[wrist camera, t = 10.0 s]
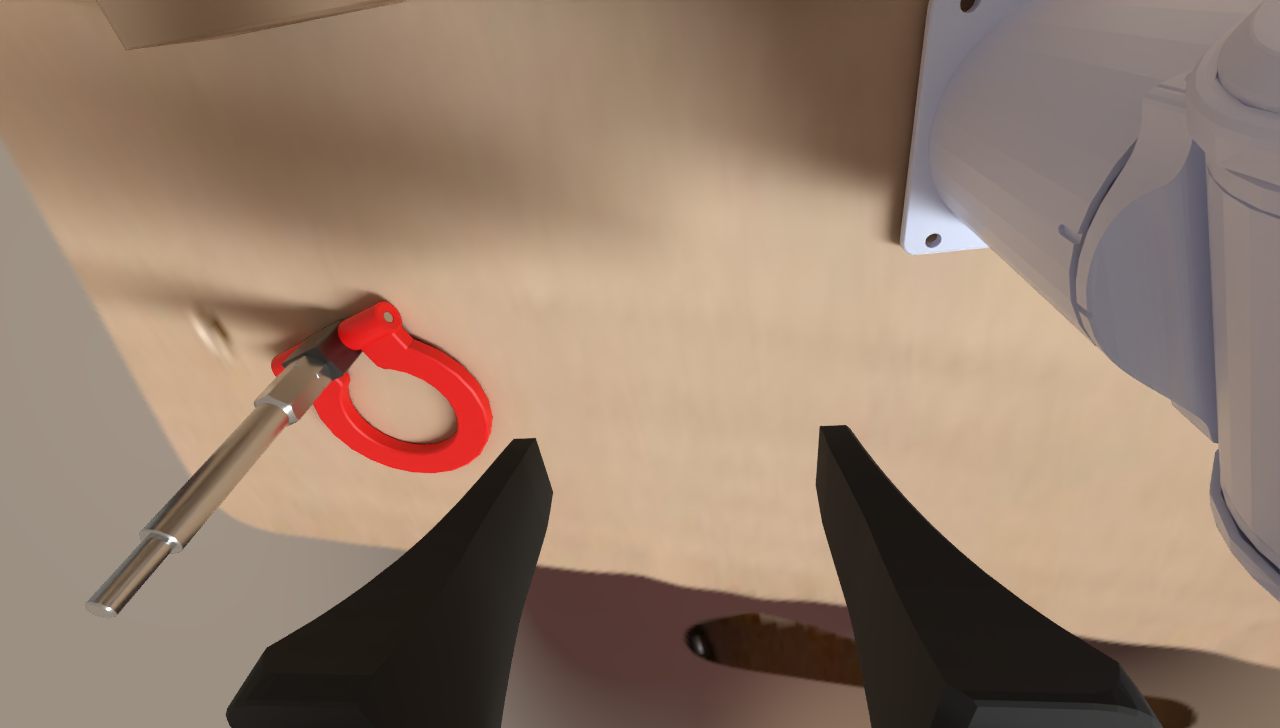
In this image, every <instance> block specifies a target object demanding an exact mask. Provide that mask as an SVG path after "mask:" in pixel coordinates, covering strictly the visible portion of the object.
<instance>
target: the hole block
mask: <svg viewBox="0 0 1280 728" xmlns="http://www.w3.org/2000/svg"><path fill="white" fill-rule="evenodd" d="M96 1H97V3H98V4H99V6H100V8H101V9H102V11H103V13H104V14H105V16H106V18H107V19H108V21H109V23H110V24H111V26H112V28H113V29H114V31H115V33H116V34H117V36H118V38H119V39H120V41H121V43H122V44H123V46H124V48H125V49H126V50H130V49H138V48H146V47H154V46H162V45H171V44H179V43H187V42H195V41H203V40H211V39H219V38H224V37H229V36H234V35H239V34H244V33H249V32H254V31H259V30H264V29H269V28H274V27H279V26H284V25H289V24H294V23H299V22H304V21H309V20H314V19H319V18H324V17H329V16H334V15H339V14H344V13H349V12H354V11H359V10H364V9H369V8H374V7H379V6H384V5H389V4H394V3H399V2H404V1H409V0H96Z"/></svg>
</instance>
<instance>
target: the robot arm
mask: <svg viewBox="0 0 1280 728" xmlns="http://www.w3.org/2000/svg"><path fill="white" fill-rule="evenodd" d="M960 2H961V0H930V1H929V4H928V8H927V16H926V24H925V32H924V41H923V49H922V58H921V66H920V74H919V83H918V91H917V100H916V108H915V117H914V125H913V133H912V142H911V150H910V159H909V167H908V175H907V184H906V192H905V201H904V209H903V218H902V226H901V234H900V245H901V247H902V248H903V249H904V251H905V252H906V253H908V254H910V255H921V254H931V253H941V252H950V251H960V250H970V249H980V248H991V249H992V250H993V251H994V252H995V253H996V254H997V255H998V256H999V257H1000V258H1002V259H1003V260H1004V261H1005V262H1006V263H1007V264H1008V265H1009V266H1010V267H1011V268H1012V269H1013V270H1014V271H1016V272H1017V273H1018V274H1019V275H1020V276H1021V277H1022V278H1023V279H1024V280H1025V281H1026V282H1027V283H1028V284H1030V285H1031V286H1032V287H1033V288H1034V289H1035V290H1036V291H1037V292H1038V293H1039V294H1040V295H1041V296H1042V297H1044V298H1045V299H1046V300H1047V301H1048V302H1049V303H1050V304H1051V305H1052V306H1053V307H1054V308H1055V309H1056V310H1058V311H1059V312H1060V313H1061V314H1062V315H1063V316H1064V317H1065V318H1066V319H1067V320H1068V321H1069V322H1070V323H1072V324H1073V325H1074V326H1075V327H1076V328H1077V329H1078V330H1079V331H1080V332H1081V333H1082V334H1083V335H1084V336H1086V337H1087V338H1088V339H1089V340H1090V341H1091V342H1092V343H1093V344H1094V345H1095V346H1097V347H1098V348H1099V349H1100V350H1101V351H1102V352H1103V353H1104V354H1105V355H1106V356H1107V357H1108V358H1109V359H1110V360H1111V361H1112V362H1114V363H1115V364H1116V365H1117V366H1118V367H1119V368H1121V369H1122V370H1123V371H1125V372H1126V373H1127V374H1129V375H1130V376H1132V377H1133V378H1135V379H1136V380H1138V381H1140V382H1141V383H1143V384H1145V385H1146V386H1148V387H1150V388H1151V389H1153V390H1155V391H1157V392H1158V393H1160V394H1162V395H1164V396H1165V397H1167V398H1169V399H1170V400H1171V402H1172V405H1173V406H1174V407H1175V408H1176V409H1177V410H1178V411H1179V412H1180V413H1181V414H1183V415H1184V416H1185V417H1186V418H1187V419H1188V420H1189V421H1190V422H1191V423H1192V424H1194V425H1195V426H1196V427H1197V428H1198V429H1199V430H1200V431H1201V432H1202V433H1204V434H1205V435H1206V436H1207V437H1208V438H1209V439H1210V440H1211V441H1212V442H1214V443H1219V449H1218V450H1217V451H1216V452H1215V457H1214V463H1213V469H1212V475H1211V482H1210V505H1211V509H1212V512H1213V515H1214V519H1215V522H1216V526H1217V528H1218V530H1219V532H1220V533H1221V535H1222V537H1223V539H1224V540H1225V542H1226V544H1227V546H1228V547H1229V549H1230V551H1231V552H1232V554H1233V555H1234V556H1235V557H1236V558H1237V560H1238V561H1239V562H1240V563H1241V564H1242V566H1243V567H1244V568H1245V569H1246V570H1247V572H1248V573H1249V574H1250V575H1251V576H1252V578H1253V579H1255V580H1256V581H1257V582H1258V583H1259V584H1260V585H1261V586H1262V587H1263V588H1265V589H1266V590H1267V591H1268V592H1269V593H1270V594H1271V595H1272V596H1273V597H1275V598H1276V599H1277V600H1278V601H1279V602H1280V0H975V1H974V4H973V6H972V7H971V8H970V9H969V10H968V11H966V12H963V11H962V10H961V9H960ZM934 233H936V234H937V235H938V236H937V238H936V240H934V241H933V242H931V243H925V241H926V238H927V237H928V236H929V235H931V234H934ZM816 489H817V495H818V501H819V507H820V513H821V518H822V524H823V527H824V530H825V534H826V537H827V541H828V544H829V547H830V551H831V554H832V558H833V561H834V564H835V568H836V571H837V574H838V578H839V581H840V584H841V587H842V591H843V594H844V597H845V601H846V604H847V607H848V611H849V615H850V619H851V623H852V627H853V632H854V637H855V642H856V647H857V652H858V657H859V662H860V667H861V672H862V678H863V683H864V688H865V693H866V699H867V704H868V710H869V714H870V721H871V727H872V728H1162V725H1161V724H1160V722H1159V720H1158V719H1157V717H1156V716H1155V714H1154V712H1153V711H1152V709H1151V708H1150V706H1149V704H1148V703H1147V701H1146V700H1145V698H1144V697H1143V695H1142V694H1141V692H1140V691H1139V689H1138V688H1137V687H1136V685H1135V684H1134V683H1133V681H1132V680H1131V679H1130V678H1129V676H1128V675H1127V674H1126V672H1125V671H1124V670H1123V668H1122V667H1121V665H1120V664H1119V663H1118V662H1117V661H1115V660H1113V659H1112V658H1110V657H1109V656H1107V655H1105V654H1104V653H1102V652H1100V651H1099V650H1097V649H1096V648H1094V647H1092V646H1091V645H1089V644H1087V643H1086V642H1084V641H1083V640H1081V639H1079V638H1078V637H1076V636H1075V635H1073V634H1071V633H1070V632H1068V631H1066V630H1065V629H1063V628H1062V627H1060V626H1059V625H1057V624H1056V623H1054V622H1053V621H1051V620H1050V619H1048V618H1047V617H1045V616H1044V615H1042V614H1041V613H1039V612H1038V611H1037V610H1035V609H1034V608H1032V607H1031V606H1029V605H1028V604H1026V603H1025V602H1024V601H1022V600H1021V599H1020V598H1018V597H1017V596H1016V595H1014V594H1013V593H1012V592H1010V591H1009V590H1008V589H1006V588H1005V587H1004V586H1002V585H1001V584H1000V583H999V582H997V581H996V580H995V579H993V578H992V577H991V576H989V575H988V574H987V573H985V572H984V571H983V570H982V569H981V568H979V567H978V566H977V565H976V564H975V563H973V562H972V561H971V560H970V559H969V558H967V557H966V556H965V555H964V554H963V553H962V552H960V551H959V550H958V549H957V548H956V547H955V546H954V545H953V544H952V543H950V542H949V541H948V540H947V539H946V538H945V537H944V536H943V535H942V534H941V533H940V532H939V531H938V530H936V529H935V528H934V527H933V526H932V525H931V524H930V523H929V522H928V521H927V520H926V519H925V518H924V517H923V516H922V515H921V513H920V512H919V511H918V510H917V509H916V508H915V507H914V506H913V505H912V504H911V503H910V502H909V501H908V500H907V499H906V498H905V497H904V495H903V494H902V493H901V492H900V491H899V490H898V489H897V488H896V486H895V485H894V484H893V483H892V482H891V481H890V479H889V478H888V477H887V476H886V475H885V474H884V472H883V471H882V470H881V469H880V468H879V466H878V465H877V464H876V463H875V461H874V460H873V459H872V458H871V456H870V455H869V454H868V452H867V451H866V450H865V448H864V447H863V446H862V444H861V443H860V442H859V440H858V439H857V438H856V436H855V435H854V433H853V432H852V430H851V429H850V428H849V427H848V426H846V425H838V426H820V431H819V446H818V460H817V475H816ZM552 495H553V490H552V487H551V484H550V481H549V478H548V475H547V472H546V469H545V466H544V462H543V459H542V456H541V453H540V450H539V447H538V444H537V441H536V438H527V439H513V440H512V442H511V443H510V444H509V445H508V446H507V447H506V448H505V449H504V451H503V452H502V453H501V454H500V455H499V456H498V458H497V459H496V460H495V461H494V462H493V463H492V465H491V466H490V467H489V468H488V469H487V470H486V472H485V473H484V474H483V475H482V476H481V477H480V479H479V480H478V481H477V482H476V483H475V484H474V485H473V486H472V488H471V489H470V490H469V491H468V492H467V493H466V494H465V495H464V496H463V498H462V499H461V500H460V501H459V502H458V503H457V504H456V505H455V506H454V507H453V508H452V509H451V510H450V511H449V512H448V513H447V514H446V515H445V516H444V517H443V519H442V520H441V521H440V522H439V523H438V524H437V525H436V526H435V527H434V528H433V529H432V530H431V531H429V532H428V533H427V534H426V535H425V536H424V537H423V538H422V539H421V540H420V541H419V542H417V543H416V544H415V545H414V546H413V547H412V548H411V549H410V550H408V551H407V552H406V553H405V554H404V555H403V556H401V557H400V558H399V559H398V560H397V561H395V562H394V563H393V564H392V565H390V566H389V567H388V568H386V569H385V570H384V571H383V572H381V573H380V574H379V575H378V576H376V577H375V578H374V579H372V580H371V581H370V582H368V583H367V584H366V585H365V586H363V587H362V588H360V589H359V590H358V591H356V592H355V593H353V594H352V595H351V596H349V597H348V598H346V599H345V600H343V601H342V602H340V603H339V604H338V605H336V606H334V607H333V608H332V609H330V610H328V611H327V612H326V613H324V614H322V615H321V616H319V617H318V618H316V619H315V620H313V621H311V622H310V623H308V624H306V625H305V626H303V627H301V628H300V629H298V630H296V631H294V632H293V633H291V634H290V635H288V636H286V637H285V638H283V639H281V640H279V641H278V642H276V643H274V644H272V645H271V646H269V647H267V648H266V650H265V651H264V653H263V654H262V656H261V657H260V659H259V660H258V662H257V663H256V665H255V666H254V668H253V669H252V671H251V673H250V674H249V676H248V677H247V679H246V680H245V682H244V683H243V685H242V686H241V688H240V689H239V691H238V693H237V694H236V696H235V697H234V699H233V700H232V702H231V703H230V705H229V707H228V708H227V712H226V717H227V720H228V722H229V725H230V727H231V728H501V722H502V715H503V708H504V702H505V696H506V691H507V685H508V679H509V673H510V667H511V661H512V657H513V652H514V646H515V641H516V637H517V632H518V626H519V622H520V618H521V614H522V611H523V607H524V603H525V600H526V597H527V593H528V590H529V587H530V584H531V580H532V577H533V574H534V571H535V567H536V564H537V561H538V558H539V554H540V551H541V547H542V544H543V541H544V537H545V534H546V530H547V526H548V520H549V515H550V509H551V502H552Z"/></svg>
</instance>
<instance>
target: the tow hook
mask: <svg viewBox="0 0 1280 728" xmlns="http://www.w3.org/2000/svg"><path fill="white" fill-rule="evenodd" d="M362 352H364V353H365V354H366V355H367V356H368V357H369V358H370V359H371V360H372V361H373V362H374V363H375V364H376V365H377V366H378V367H381V368H383V369H392V370H397V371H401V372H405V373H408V374H411V375H413V376H415V377H418V378H420V379H422V380H424V381H426V382H427V383H429V384H430V385H432V386H433V387H435V388H436V389H437V390H438V391H439V392H440V393H441V394H442V395H443V396H444V397H446V398H447V400H448V401H449V403H450V404H451V406H452V407H453V409H454V411H455V414H456V417H457V420H458V427H457V432H456V433H455V434H454V435H453V436H452V437H451V438H449V439H447V440H445V441H442V442H440V443H435V444H428V445H423V444H411V443H407V442H402V441H399V440H396V439H394V438H391V437H389V436H386V435H385V434H383V433H381V432H380V431H378V430H376V429H375V428H373V427H372V426H371V425H369V424H368V423H367V422H366V421H365V420H364V419H362V417H361V416H360V415H359V413H358V412H357V411H356V410H355V408H354V406H353V404H352V402H351V400H350V397H349V388H348V386H349V382H350V377H349V374H348V373H346V371H347V370H348V369H349V368H350V366H351V365H352V364H353V363H354V362H355V360H356V359H357V358H358V357H359V355H360V354H361V353H362ZM271 368H272V371H273V373H274V375H275V376H276V378H275V379H274V380H273V381H272V383H271V384H270V385H269V386H268V387H267V388H266V389H265V390H264V391H263V392H262V393H261V394H260V395H259V396H258V397H257V398H256V399H255V401H254V406H255V409H254V410H253V412H252V413H251V414H250V415H249V416H248V417H247V418H246V419H245V420H244V421H243V422H242V423H241V424H240V425H239V427H238V428H237V429H236V430H235V431H234V432H233V433H232V434H231V435H230V436H229V437H228V438H227V439H226V440H225V442H224V443H223V444H222V445H221V446H220V447H219V448H218V449H217V450H216V451H215V452H214V453H213V454H212V455H211V457H210V458H209V459H208V460H207V461H206V462H205V463H204V464H203V465H202V466H201V467H200V468H199V469H198V470H197V472H196V473H195V474H194V475H193V476H192V477H191V478H190V479H189V480H188V482H186V483H185V485H184V486H183V487H182V488H181V489H180V490H179V491H178V492H177V493H176V494H175V495H174V496H173V497H172V499H170V500H169V502H168V503H167V504H166V505H165V506H164V507H163V508H162V509H161V510H160V511H159V512H158V513H157V515H155V517H154V518H153V519H152V520H151V521H150V522H149V523H148V524H147V525H146V526H145V527H144V529H142V531H141V532H140V533H139V536H140V539H141V541H142V542H141V543H140V544H139V545H138V546H137V547H136V549H135V550H134V551H133V552H132V553H131V554H130V555H129V556H128V557H127V558H126V560H125V561H124V562H123V563H122V564H121V565H120V566H119V567H118V568H117V569H116V570H115V572H114V573H113V574H112V575H111V576H110V577H109V578H108V579H107V580H106V581H105V582H104V584H103V585H102V586H101V587H100V588H99V589H98V590H97V591H96V592H95V593H94V595H93V596H92V597H91V598H90V599H89V600H88V601H87V602H86V603H85V608H86V610H87V611H88V612H90V613H92V614H94V615H96V616H99V617H103V618H112V617H116V616H117V615H118V614H119V612H120V611H121V610H122V609H123V608H124V606H125V605H126V604H127V603H128V602H129V601H130V600H131V598H132V597H133V596H134V595H135V594H136V592H137V591H138V590H139V589H140V588H141V587H142V585H143V584H144V583H145V582H146V581H147V580H148V578H149V577H150V576H151V575H152V574H153V573H154V571H155V570H156V569H157V568H158V567H159V565H160V564H161V563H162V562H163V560H165V558H166V557H167V556H168V555H169V554H174V553H179V552H181V551H182V550H183V549H184V547H185V546H186V545H187V544H188V543H189V542H190V540H191V539H192V538H193V537H194V536H195V534H196V533H197V532H198V531H199V530H200V529H201V527H202V526H203V525H204V524H205V522H206V521H207V520H208V519H209V518H210V517H211V515H212V514H213V513H214V512H215V511H216V509H217V508H218V507H219V506H220V505H221V503H222V502H223V501H224V500H225V499H226V497H227V496H228V495H229V494H230V493H231V491H232V490H233V489H234V488H235V487H236V485H237V484H238V483H239V482H240V481H241V479H242V478H243V477H244V476H245V475H246V473H247V472H248V471H249V470H250V469H251V467H252V466H253V465H254V464H255V463H256V462H257V460H258V459H259V458H260V457H261V456H262V454H263V453H264V452H265V451H266V450H267V448H268V447H269V446H270V445H271V444H272V442H273V441H274V440H275V439H276V438H277V436H278V435H279V434H280V433H281V432H282V430H283V429H284V428H285V427H287V426H289V425H292V424H294V423H296V422H297V421H298V420H300V419H301V417H302V416H303V415H304V414H305V413H306V411H307V410H308V409H309V408H310V406H311V405H312V404H313V405H314V407H315V409H316V411H317V413H318V415H319V417H320V419H321V420H322V421H323V422H324V423H325V424H326V426H327V427H328V428H329V429H330V430H331V431H332V433H333V434H334V435H335V436H336V437H338V438H339V439H340V440H341V441H343V442H344V443H345V444H346V445H348V446H349V447H350V448H351V449H353V450H355V451H356V452H358V453H360V454H362V455H363V456H365V457H367V458H369V459H370V460H373V461H376V462H378V463H381V464H383V465H386V466H389V467H391V468H396V469H400V470H405V471H409V472H420V473H438V472H445V471H452V470H455V469H457V468H460V467H462V466H465V465H467V464H469V463H470V462H471V461H472V460H474V459H475V458H476V457H477V456H479V455H480V454H481V452H482V450H483V448H484V446H485V444H486V443H487V441H488V438H489V436H490V433H491V427H492V418H493V416H492V412H491V408H490V404H489V400H488V398H487V397H486V395H485V393H484V391H483V390H482V388H481V386H480V385H479V383H478V382H477V381H476V380H475V379H474V377H473V376H472V375H471V374H470V373H469V372H468V371H467V370H466V369H465V368H464V367H463V366H462V365H461V364H459V363H458V362H456V361H455V360H453V359H452V358H450V357H449V356H447V355H446V354H445V353H443V352H442V351H440V350H438V349H435V348H433V347H431V346H429V345H426V344H424V343H422V342H420V341H418V340H414V339H413V338H412V337H411V336H410V335H409V334H408V333H407V332H406V331H405V330H404V329H403V328H402V319H401V316H400V314H399V312H398V311H397V309H396V308H395V307H394V306H393V305H391V304H390V303H388V302H379V303H377V304H375V305H373V306H371V307H369V308H367V309H365V310H363V311H361V312H359V313H358V314H356V315H354V316H352V317H350V318H348V319H343V320H339V321H337V322H335V323H333V324H331V325H329V326H328V327H326V328H324V329H322V330H320V331H318V332H316V333H314V334H312V335H310V336H309V337H308V338H307V339H306V340H305V341H304V342H302V343H300V344H298V345H296V346H294V347H292V348H290V349H289V350H287V351H285V352H283V353H281V354H279V355H277V356H276V357H274V358H273V360H272V363H271Z"/></svg>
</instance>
